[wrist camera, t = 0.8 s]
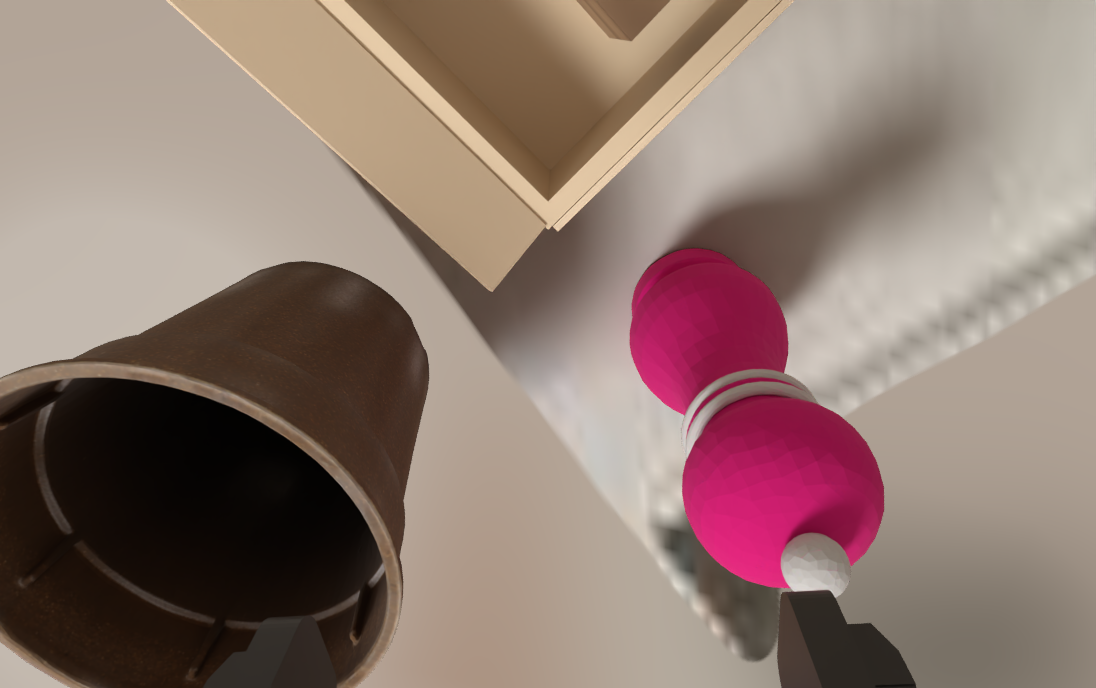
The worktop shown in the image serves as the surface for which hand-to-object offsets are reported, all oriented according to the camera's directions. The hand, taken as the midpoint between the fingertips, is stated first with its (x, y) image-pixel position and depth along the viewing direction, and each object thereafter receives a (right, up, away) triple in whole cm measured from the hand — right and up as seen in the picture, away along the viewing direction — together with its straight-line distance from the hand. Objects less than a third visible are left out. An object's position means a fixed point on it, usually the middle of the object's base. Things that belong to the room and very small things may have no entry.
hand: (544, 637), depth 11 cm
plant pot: (-13, +4, +26) cm, 29 cm away
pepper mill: (+8, +7, +24) cm, 26 cm away
